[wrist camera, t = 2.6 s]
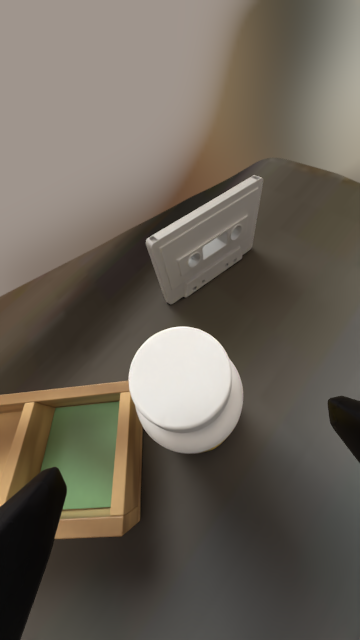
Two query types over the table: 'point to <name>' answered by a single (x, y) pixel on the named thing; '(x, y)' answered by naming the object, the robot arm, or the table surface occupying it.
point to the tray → (77, 453)
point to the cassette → (205, 240)
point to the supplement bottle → (185, 390)
